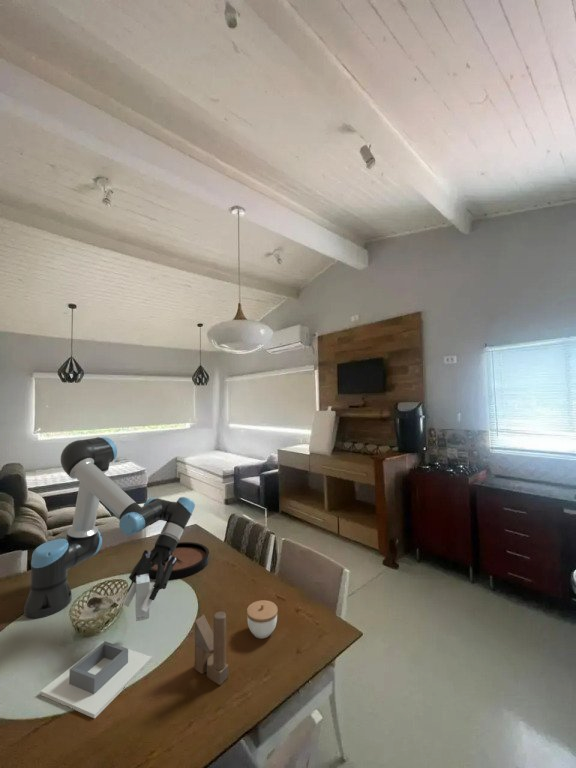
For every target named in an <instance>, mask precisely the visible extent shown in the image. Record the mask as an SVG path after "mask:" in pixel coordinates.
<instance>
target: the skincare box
mask: <svg viewBox="0 0 576 768" xmlns="http://www.w3.org/2000/svg"><path fill="white" fill-rule="evenodd" d="M150 585H151V581H150V578H149V573H148V574H143V575H138V576H136V593H135V621H136V622H140V621H144V620H148V619H150V607H149V608H148V610H147V612H144V611H143V610H141V607H142V605H143V603H144V601H145V599H146V597H147V595H148V593H149V591H150V589H151V586H150Z"/></svg>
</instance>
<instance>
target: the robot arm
mask: <svg viewBox="0 0 576 768" xmlns="http://www.w3.org/2000/svg"><path fill="white" fill-rule="evenodd" d="M117 455H118V447H117V445H116V444H115V442H114V441H113V440H112V439H111V438H109V437H106V436H105V437H99V436H97V437H93V438H87V439H78V440H75V441H72V442H70V443H68V444H67V445H66V446H65V447H64V448H63V450H62V452H61V454H60V465H61V467H62V470H63V471H64V472H65V473H66V474H67V475H68V476H69V477H70V479H72V480H74V479H75V480H77V481H79V484H78V485H79V486H78V491H77V497H76V502H75V508H74V513H73V514H74V515H73V520H72V525H71V527H70V528H68V530H66V535H65V536H66V537H65V538H56V539H53V540H49V541H46V542H44V543H41V544H40V545H39V546H37V547H36V548H35V549H33V551H32V555H31V561H30V566H31V569H30V591H29V593H28V596H27V599H26V602H25V604H24V606H23V607H24V608H23V614H24V616H25V617H27V618H30V619H37V618H43V617H44V618H45V617H47V616H52V615H54V614H56V613H58V612H60V611H61V610H63V609H65V608H66V607H68V606H69V604H71V602H72V590H71V588H70V585H69V582H68V571H69V570H71V569H72V568H74V567H77V566H78V565H79V564H82V563H83V562H85V561H87V560H90V559H91V558H92V557H93V556H95V555H96V554H97V553H98V552H100V550H101V547H102V544H103V536H101V535H102V534H101V532H100V531H99V528H98V527H97V526H96V521H97V518H98V517H97V516H98V512H99V504H100V502H101V504H103V505H104V506H105V507H106V508H107V509H108V510H109V511H111V512H112V513H113V515H114V516H116V517H117V518H118V519H119V521H118V522H119V524H118V525H119V527H118V528H120V531H121V533H122V534H124V535H125V536H132V535H134V534H137V533H140V532H141V531H142V530H144V529H146V528H147V527H149V526H152V525H153V524H155V523H156V522H159V521H164V522H165V523H164V526H163V527H162V530H161V532H160V534H159V535H158V537H157V539H156V541H155V542H154V547H153V548H152V549H151V550H146V549H145V550H144V551H143V553H142V556H140V557H141V558H140V559H139V561H138V562H137V564H136V566H135V567H134V569H133V570H132V572H131V573H130V575H129V577H128V579H129V580H130V581H131V583H130V585H129V587H128V589H127V591H126V593H127V594H126V595H125V597H124V600H123V601H122V605H124V606H125V607H128V608H129V606H130V604H131V603H132V601H133V599H134V596H136V576H138V575H143V574H146V573H147V572H148V571H149V570H150V569H151V568H152V567H153V566H154V565H157V566H158V568H157V574H156V579H155V580H154V584H152V586H150V591H149V593H148V595H147V597H146V599H145V601H144V603H143V605H142V607H141V610H143V611H144V612H147V610H148V608H149V609H150V605H151V603H152V601H154V600H155V599H156V597H157V595H158V593H159V591H160V590H165V589H166V588H167V585H168V582H169V581H170V580H169V577H170V575H171V572H172V569H173V566H174V565H175V563H176V562H177V559H176V558H175V557H174V556H172V552H174V550H175V548H176V546H177V544H178V543H179V541H180V540H181V537H182V535H183V533H184V531H185V528H186V526H187V524H188V523H189V521H190V518H191V516H192V515H193V512H194V509H195V508H196V504H195V502H194V501H193V500H192V499H190V498H188V497H185V496H181V497H179V498H178V499H177V500H176V501H169V500H165V499H162V498H159V497H157V498H156V497H150V498H147V500H146V501H145V502H144V504H143V506H140V504H139V503H137V502H136V501H135V500H134V498H132V497H131V496H129V495H128V494H127V492H125V491H124V490H123V489H122V488H121V487H120V486H119V485H118V484H116V482H114V481H113V480H112V478H110V477H109V476H107V474H105V473H107V472H108V471H109V469H110V463H112V462H113V461H114V460H116V458H117ZM150 555H151V557H150ZM148 558H149V559H148ZM168 560H169V562H168V564H167V566H166V562H167V561H168ZM146 562H147V563H146ZM151 562H152V563H151ZM165 566H166V569H165ZM164 569H165V571H164ZM163 573H164V574H163Z"/></svg>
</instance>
